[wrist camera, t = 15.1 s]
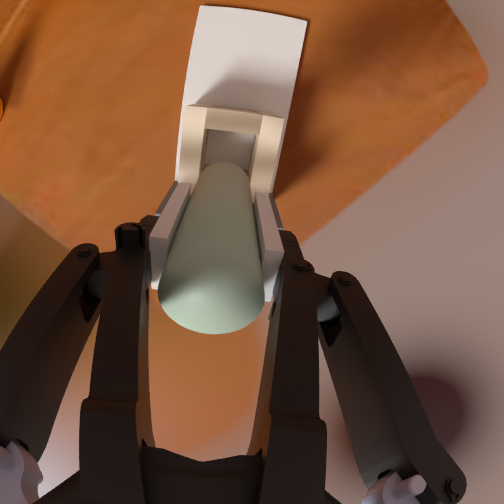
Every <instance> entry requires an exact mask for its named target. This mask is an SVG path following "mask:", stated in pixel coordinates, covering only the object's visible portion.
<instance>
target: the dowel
mask: <svg viewBox="0 0 504 504" xmlns="http://www.w3.org/2000/svg"><path fill="white" fill-rule="evenodd" d="M158 298H159V301H160V304H161V306H162V308H163V309H164V311H165V312H166V313H167V315H168V316H169V317H170V318H171V319H173V320H174V321H175V322H176V323H178V324H180V325H181V326H183V327H185V328H187V329H190V330H193V331H196V332H200V333H206V334H224V333H229V332H233V331H236V330H239V329H241V328H244V327H245V326H247V325H249V324H250V323H251V322H253V321H254V320H255V319H256V318H257V316H258V315H259V314H260V312H261V310H262V308H263V305H264V301H265V291H264V284H263V276H262V268H261V261H260V254H259V246H258V239H257V231H256V224H255V217H254V210H253V202H252V195H251V188H250V182H249V178H248V176H247V174H246V173H245V172H244V171H243V169H241V168H240V167H239V166H237V165H235V164H233V163H229V162H217V163H214V164H211V165H209V166H208V167H206V168H205V169H204V170H203V171H202V172H201V174H200V175H199V177H198V180H197V182H196V185H195V187H194V189H193V192H192V194H191V197H190V199H189V202H188V204H187V207H186V209H185V212H184V214H183V217H182V219H181V222H180V224H179V227H178V230H177V232H176V235H175V238H174V241H173V243H172V246H171V249H170V252H169V254H168V257H167V260H166V263H165V266H164V269H163V272H162V275H161V278H160V281H159V284H158Z"/></svg>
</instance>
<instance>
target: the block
mask: <svg viewBox="0 0 504 504" xmlns="http://www.w3.org/2000/svg"><path fill="white" fill-rule="evenodd" d="M283 124H284V118H282V117H280V116H278V115H276V114H271V113H265V112H259V111H253V110H246V109H239V108H232V107H224V106H214V105H204V104H191V105H187V106H185V114H184V122H183V131H182V141H181V151H180V162H179V174H178V183H188V184H191V191H190V197H191V194H192V192H193V189H194V187H195V185H196V182H197V180H198V177H199V175H200V174H201V172H202V171H203V170H204V169H205V168H206V167H208V166H209V165H204V163H205V155H206V147H207V139H208V132H209V129H215V130H224V131H232V132H239V133H246V134H253V135H254V139H253V145H252V150H251V156H250V162H249V167H248V170H243V171H244V172H245V173H246V174H247V176H248V178H249V182H250V188H251V195H252V202H253V203H254V197H255V192H261V193H268V196H269V192H270V187H271V182H272V177H273V173H274V168H275V163H276V158H277V153H278V148H279V144H280V139H281V134H282V129H283Z"/></svg>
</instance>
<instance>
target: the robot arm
mask: <svg viewBox="0 0 504 504" xmlns="http://www.w3.org/2000/svg"><path fill="white" fill-rule="evenodd" d="M190 191H191V184H188V183H178V185H177V187H176V188H175V190H174V192H173V194H172V195H171V197H170V199H169V201H168V202H167V204H166V206H165V208H164V210H163V211H162V213H161V215H160V216H152V215H147V216H146V217H144V218H142V219H141V220H140V222H139V223H134V222H130V223H124V224H121V225H119V226H118V227H116V229H115V240H116V250H115V251H112V252H104V253H99V249H98V247H97V246H96V245H94V244H91V243H84V244H80V245H78V246H76V247H75V248H73V249H72V250H71V252H70V253H69V254H68V255H67V256H66V258H65V259H64V260H63V261H62V262H61V264H60V265H59V266H58V267H57V268H56V270H55V271H54V272H53V273H52V275H51V276H50V277H49V279H48V280H47V281H46V283H45V284H44V285H43V287H42V288H41V289H40V291H39V292H38V293H37V295H36V296H35V297H34V299H33V300H32V302H31V303H30V304H29V306H28V307H27V309H26V310H25V312H24V313H23V315H22V316H21V318H20V319H19V321H18V323H17V324H16V325H15V327H14V329H13V330H12V332H11V333H10V335H9V337H8V338H7V340H6V342H5V344H4V345H3V347H2V349H1V350H0V504H341V503H340V502H339V501H338V500H336V499H335V498H334V497H333V496H331V495H330V494H329V493H328V492H327V491H326V490H325V477H326V453H327V451H326V450H327V429H326V424H325V422H324V421H323V420H321V419H320V417H319V348H318V338H319V341H320V344H321V346H322V350H323V352H324V356H325V359H326V362H327V365H328V368H329V372H330V375H331V378H332V381H333V384H334V388H335V391H336V394H337V397H338V401H339V404H340V407H341V411H342V414H343V418H344V421H345V424H346V428H347V431H348V435H349V438H350V442H351V445H352V449H353V453H354V457H355V460H356V464H357V466H358V469H359V473H360V475H361V477H362V479H363V481H364V483H365V485H366V487H367V488H368V491H367V492H366V495H365V496H364V497H363V499H362V504H457V503H458V502H459V501H460V500H461V499H462V497H463V495H464V494H465V491H466V486H467V484H466V478H465V475H464V474H463V472H462V471H461V469H460V468H459V467H458V466H457V464H456V463H455V462H454V460H453V459H452V458H451V457H450V455H449V454H448V453H447V451H446V450H445V449H444V448H443V446H442V445H441V444H440V442H439V441H438V440H437V439H436V437H435V435H434V433H433V430H432V427H431V425H430V423H429V420H428V418H427V415H426V413H425V410H424V408H423V406H422V403H421V401H420V399H419V397H418V395H417V392H416V390H415V388H414V386H413V384H412V381H411V379H410V377H409V375H408V373H407V371H406V369H405V367H404V365H403V363H402V361H401V359H400V356H399V354H398V353H397V351H396V349H395V347H394V345H393V343H392V341H391V339H390V337H389V335H388V333H387V331H386V329H385V327H384V326H383V324H382V322H381V320H380V318H379V316H378V314H377V313H376V311H375V309H374V307H373V306H372V304H371V302H370V300H369V298H368V297H367V295H366V293H365V291H364V290H363V288H362V286H361V284H360V283H359V281H358V280H357V279H356V277H354V276H353V275H351V274H350V273H347V272H343V271H336V272H334V273H333V274H332V276H331V278H328V277H325V276H322V275H319V274H316V273H315V272H314V267H313V266H312V264H310V263H309V262H308V261H306V260H304V258H303V255H302V252H301V249H300V248H299V244H298V241H297V238H296V236H295V235H294V234H293V233H292V232H291V231H285V230H278V228H277V224H276V221H275V217H274V213H273V210H272V206H271V203H270V200H269V196H268V193H261V192H255V197H254V203H253V210H254V217H255V224H256V231H257V239H258V246H259V254H260V261H261V268H262V276H263V284H264V291H265V301H269V302H270V301H271V297H272V294H273V296H274V301H273V304H272V308H271V311H270V315H269V318H268V319H269V320H270V322H269V329H268V336H267V343H266V350H265V357H264V364H263V371H262V377H261V383H260V389H259V396H258V402H257V408H256V414H255V420H254V426H253V431H252V437H251V442H250V445H249V448H248V452H247V455H238V456H233V457H228V458H223V459H217V460H211V461H205V462H201V461H196V460H193V459H190V458H187V457H184V456H182V455H179V454H176V453H173V452H170V451H168V450H165V449H162V448H156V447H155V442H154V437H153V433H152V423H151V409H150V394H149V393H150V392H149V367H148V323H149V322H148V321H149V285H150V282H151V284H152V289H157V290H158V284H159V281H160V278H161V275H162V272H163V269H164V266H165V263H166V260H167V257H168V254H169V252H170V249H171V246H172V243H173V241H174V238H175V235H176V232H177V230H178V227H179V224H180V222H181V219H182V217H183V214H184V212H185V209H186V207H187V204H188V202H189V199H190ZM99 315H100V318H99V324H98V329H97V335H96V342H95V348H94V355H93V363H92V371H91V381H90V392H89V396H88V398H86V399H84V400H83V402H82V404H81V410H80V429H79V467H80V470H79V471H77V472H76V473H75V474H73V475H72V476H71V477H69V478H68V479H66V480H65V481H64V482H62V483H61V484H60V485H58V486H57V487H55V488H54V489H52V490H51V491H50V492H48V493H47V494H46V495H44V496H42V497H41V498H39V496H38V488H37V487H38V484H39V483H41V482H42V481H43V475H42V472H41V471H40V469H39V466H38V464H37V463H38V461H39V460H40V457H41V456H42V454H43V452H44V450H45V448H46V445H47V442H48V439H49V437H50V434H51V431H52V427H53V425H54V421H55V418H56V416H57V413H58V410H59V407H60V404H61V402H62V399H63V396H64V394H65V391H66V388H67V386H68V383H69V381H70V378H71V376H72V373H73V371H74V369H75V366H76V364H77V362H78V359H79V357H80V355H81V353H82V350H83V348H84V346H85V344H86V341H87V340H88V337H89V335H90V333H91V331H92V329H93V327H94V325H95V323H96V321H97V319H98V317H99Z"/></svg>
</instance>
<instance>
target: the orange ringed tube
mask: <svg viewBox="0 0 504 504" xmlns="http://www.w3.org/2000/svg"><path fill="white" fill-rule="evenodd" d="M2 114H3V102H2V99H1V97H0V120H1V118H2Z"/></svg>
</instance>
